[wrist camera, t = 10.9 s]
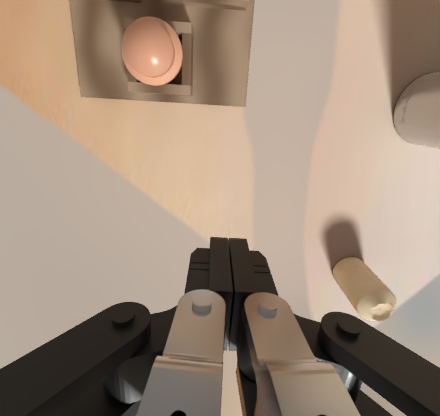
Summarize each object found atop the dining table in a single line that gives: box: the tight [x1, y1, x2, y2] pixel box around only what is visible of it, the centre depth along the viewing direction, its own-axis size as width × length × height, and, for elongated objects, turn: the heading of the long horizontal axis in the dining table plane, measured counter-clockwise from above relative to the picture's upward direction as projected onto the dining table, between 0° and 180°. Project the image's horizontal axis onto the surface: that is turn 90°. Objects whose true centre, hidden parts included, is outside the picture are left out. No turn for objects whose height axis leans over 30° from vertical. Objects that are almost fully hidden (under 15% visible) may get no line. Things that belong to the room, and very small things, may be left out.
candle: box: [333, 257, 396, 321], centre depth 41 cm, size 6×6×10 cm
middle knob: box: [121, 17, 183, 86], centre depth 28 cm, size 6×6×6 cm
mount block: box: [70, 0, 254, 107], centre depth 30 cm, size 21×19×4 cm
